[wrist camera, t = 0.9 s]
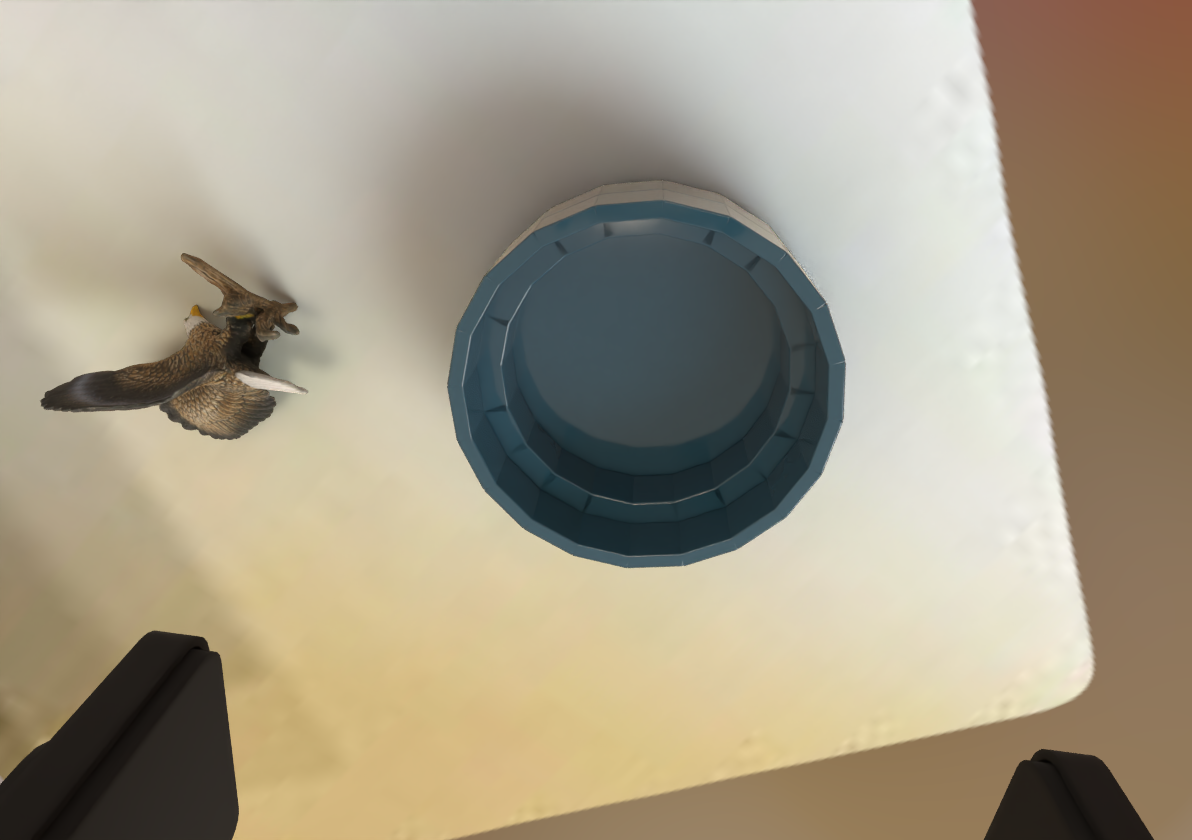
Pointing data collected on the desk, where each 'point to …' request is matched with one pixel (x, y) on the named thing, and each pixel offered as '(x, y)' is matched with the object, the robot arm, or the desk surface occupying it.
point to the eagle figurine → (198, 369)
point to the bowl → (647, 377)
